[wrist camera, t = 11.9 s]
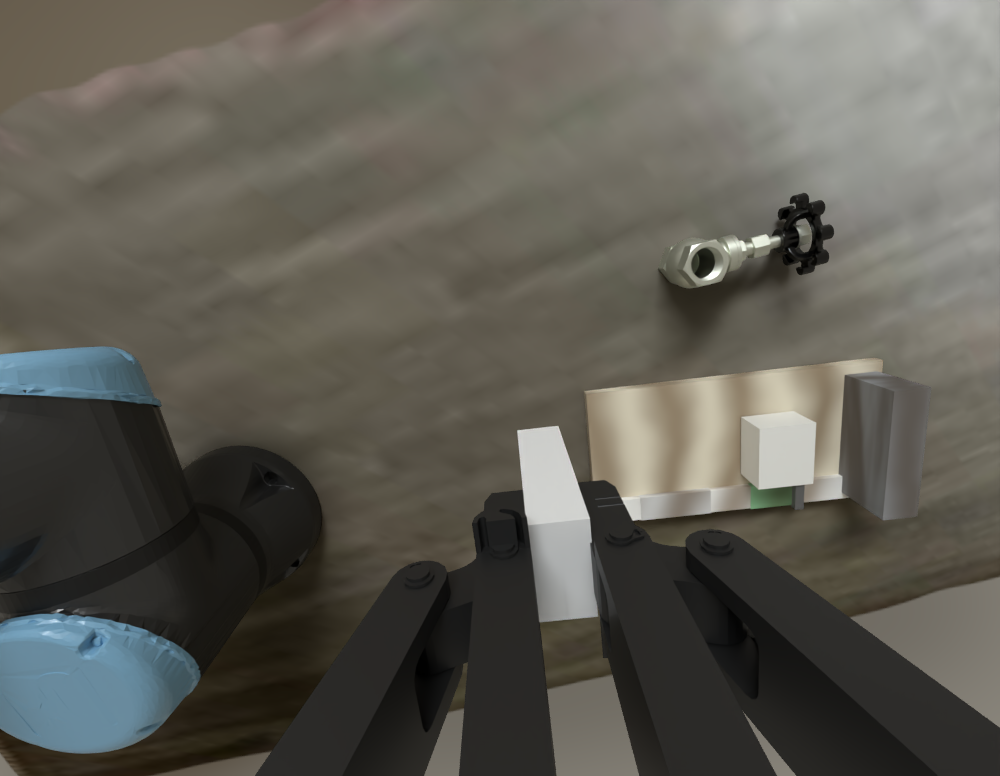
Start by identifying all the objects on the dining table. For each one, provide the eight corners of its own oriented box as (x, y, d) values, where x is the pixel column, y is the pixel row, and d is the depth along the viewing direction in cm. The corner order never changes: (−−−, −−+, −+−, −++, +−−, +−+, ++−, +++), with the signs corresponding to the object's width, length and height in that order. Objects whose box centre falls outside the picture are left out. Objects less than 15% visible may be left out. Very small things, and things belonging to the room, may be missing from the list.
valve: (661, 303, 46) (789, 271, 45) (687, 310, 39) (837, 273, 38) (649, 232, 44) (782, 197, 43) (674, 227, 38) (831, 186, 37)
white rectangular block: (740, 497, 49) (758, 515, 46) (741, 416, 47) (759, 429, 43) (790, 492, 49) (812, 509, 45) (793, 410, 47) (816, 422, 43)
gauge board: (594, 517, 51) (608, 558, 44) (584, 391, 48) (598, 413, 41) (863, 489, 50) (921, 526, 43) (873, 357, 47) (938, 374, 40)
